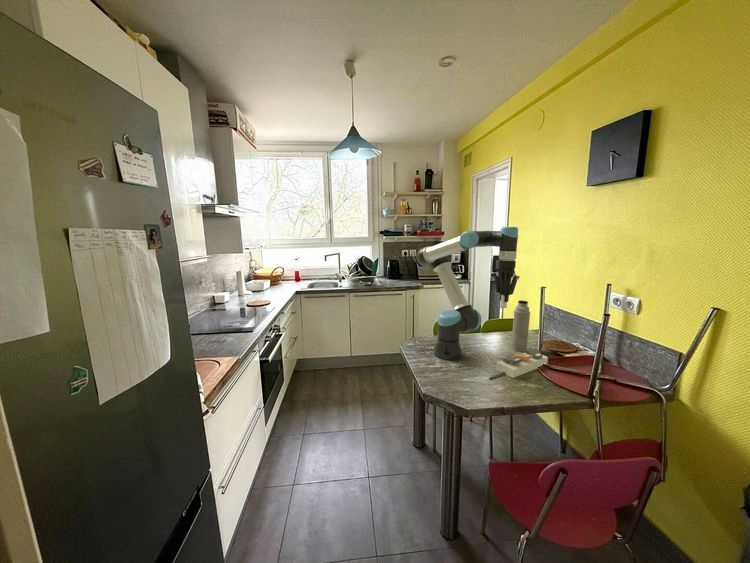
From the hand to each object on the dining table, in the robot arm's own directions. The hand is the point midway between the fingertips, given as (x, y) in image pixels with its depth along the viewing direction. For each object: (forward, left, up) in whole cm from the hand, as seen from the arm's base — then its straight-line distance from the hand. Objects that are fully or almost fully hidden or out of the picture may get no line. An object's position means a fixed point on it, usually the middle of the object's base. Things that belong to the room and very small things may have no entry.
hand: (503, 307), depth 143 cm
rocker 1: (+8, -1, -24) cm, 25 cm away
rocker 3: (+8, +15, -24) cm, 29 cm away
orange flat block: (+8, +7, -24) cm, 26 cm away
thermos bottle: (-7, +26, -30) cm, 40 cm away
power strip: (+8, +2, -29) cm, 31 cm away
